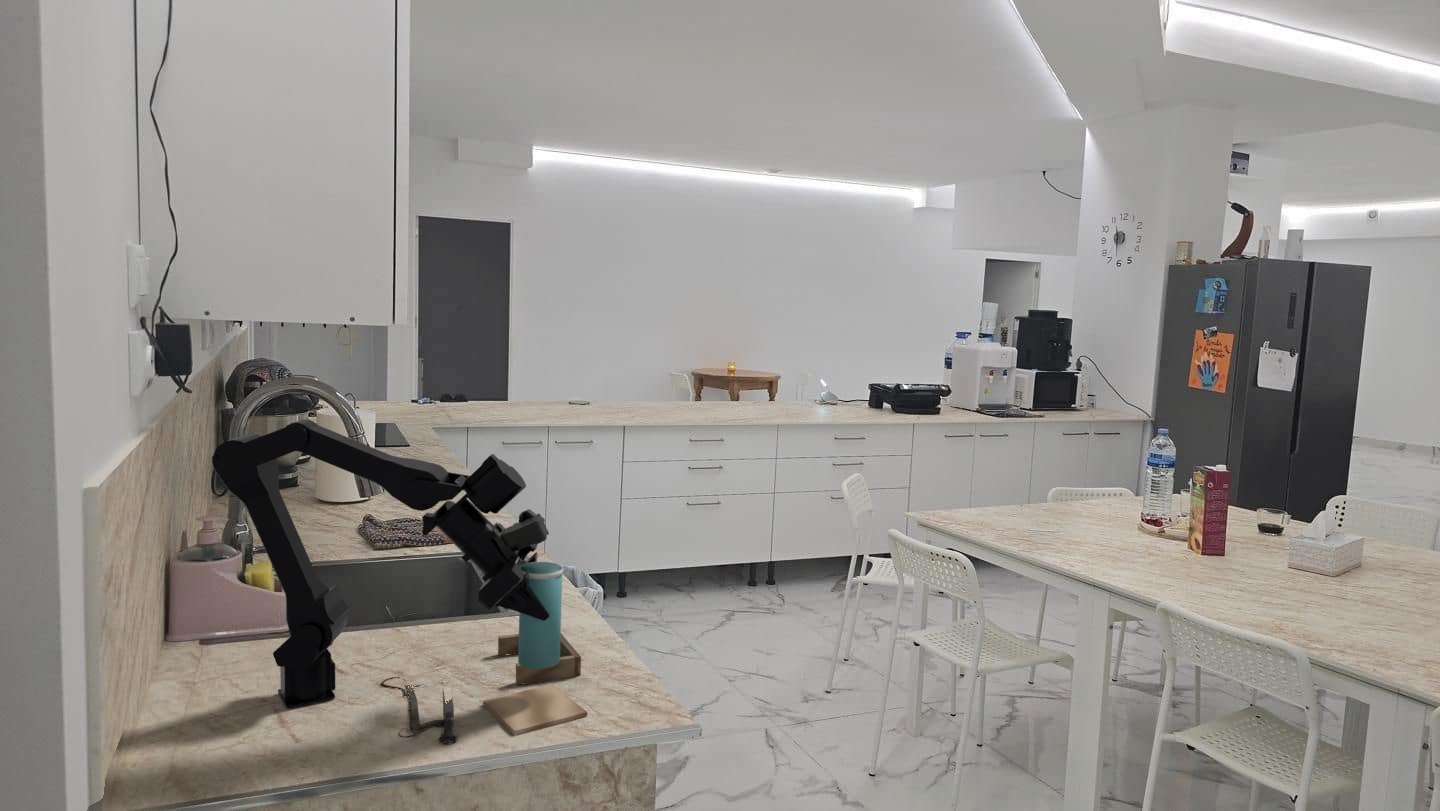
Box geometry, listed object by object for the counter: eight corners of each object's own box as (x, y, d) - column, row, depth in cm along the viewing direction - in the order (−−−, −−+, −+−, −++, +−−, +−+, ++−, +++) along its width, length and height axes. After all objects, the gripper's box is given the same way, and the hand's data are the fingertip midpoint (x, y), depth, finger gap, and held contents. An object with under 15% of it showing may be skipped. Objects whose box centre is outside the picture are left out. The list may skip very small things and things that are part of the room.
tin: (518, 670, 130) (520, 574, 129) (516, 653, 136) (518, 562, 135) (562, 667, 132) (564, 573, 130) (559, 651, 138) (561, 561, 136)
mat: (514, 735, 123) (514, 730, 123) (483, 704, 132) (483, 700, 132) (587, 715, 130) (587, 711, 130) (552, 687, 138) (552, 684, 138)
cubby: (517, 684, 139) (517, 665, 139) (498, 654, 151) (498, 636, 150) (580, 675, 143) (581, 656, 143) (557, 646, 155) (557, 628, 155)
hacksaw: (457, 748, 120) (457, 737, 120) (373, 757, 117) (373, 746, 116) (451, 675, 143) (451, 665, 142) (381, 681, 139) (381, 671, 139)
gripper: (504, 512, 122) (585, 594, 124) (524, 484, 140) (594, 556, 142) (443, 568, 122) (525, 649, 124) (471, 532, 140) (542, 603, 143)
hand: (549, 610), depth 133 cm, fingers closed on tin, 6 cm apart
